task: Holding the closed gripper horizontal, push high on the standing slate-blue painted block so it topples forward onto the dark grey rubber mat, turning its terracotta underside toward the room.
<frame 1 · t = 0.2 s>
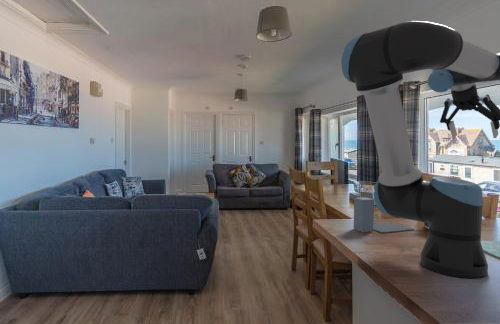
hand: (474, 136, 124), 36 cm above the counter, tool tilted 35°, fingers open, 13 cm apart
coffee can: (438, 228, 128), on the counter
slate block: (363, 230, 124), on the counter
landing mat: (386, 227, 128), on the counter
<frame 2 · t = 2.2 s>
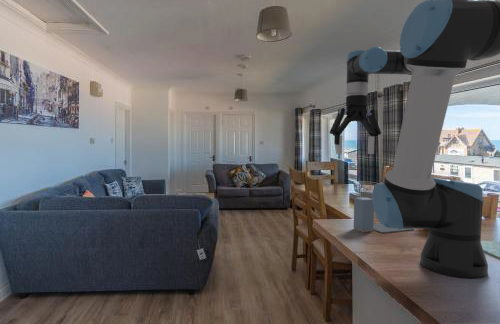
hand: (355, 154, 121), 29 cm above the counter, tool pointing down, fingers open, 13 cm apart
nothing on the counter moved.
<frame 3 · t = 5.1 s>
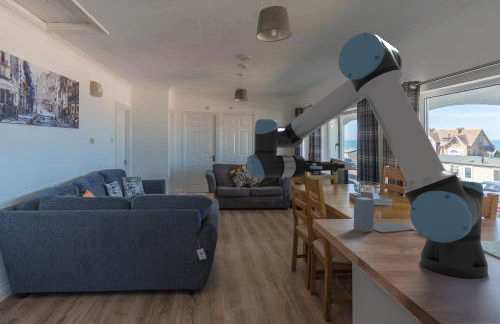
hand: (349, 166, 121), 24 cm above the counter, tool horizontal, fingers closed
nothing on the counter moved.
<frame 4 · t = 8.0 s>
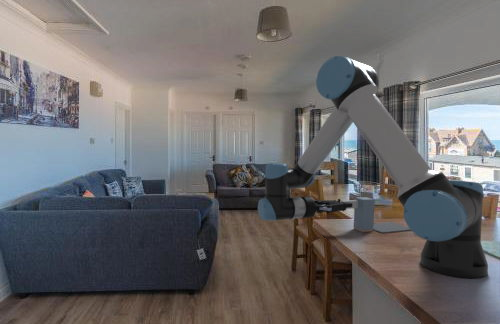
hand: (356, 203, 124), 10 cm above the counter, tool horizontal, fingers closed
slate block: (363, 229, 124), on the counter, touching gripper
everything else where it was.
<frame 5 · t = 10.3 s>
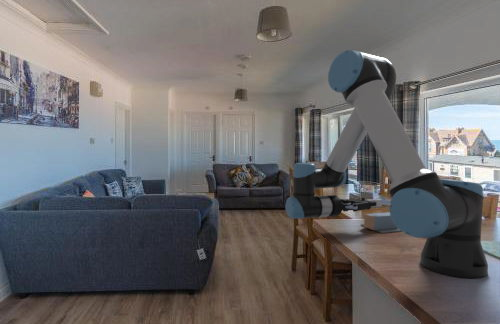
hand: (380, 202, 126), 10 cm above the counter, tool horizontal, fingers closed
slate block: (368, 221, 125), point 3 cm above the counter, tilted 90°, touching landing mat
everything else where it was.
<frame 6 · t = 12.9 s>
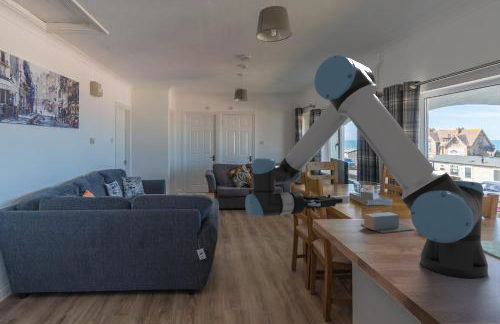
hand: (347, 199, 121), 12 cm above the counter, tool horizontal, fingers closed
nothing on the counter moved.
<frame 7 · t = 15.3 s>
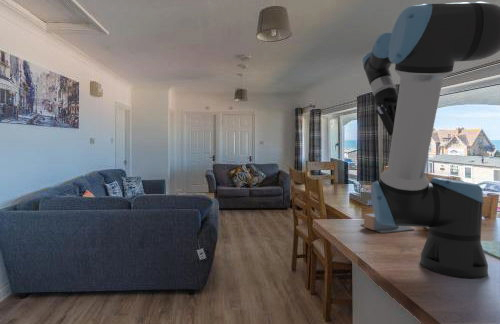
hand: (406, 154, 107), 29 cm above the counter, tool tilted 25°, fingers closed
nothing on the counter moved.
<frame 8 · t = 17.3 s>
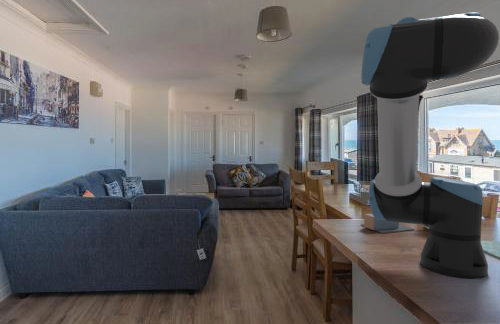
hand: (403, 144, 111), 32 cm above the counter, tool pointing down, fingers closed
nothing on the counter moved.
at the end: slate block tilted 90°; slate block inside the target area (4.7 cm from its centre), point 2.9 cm above the counter; the gripper is holding nothing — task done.
